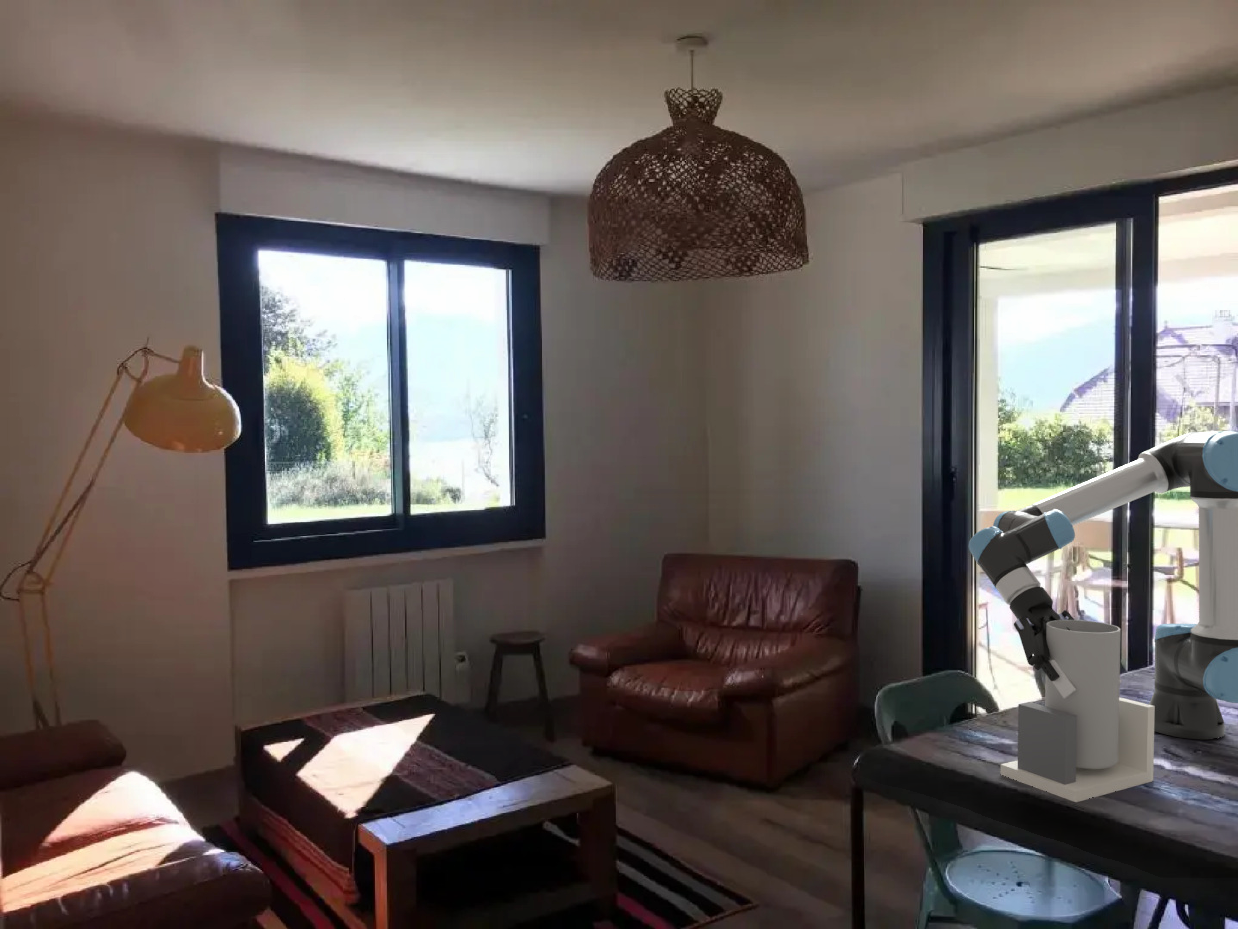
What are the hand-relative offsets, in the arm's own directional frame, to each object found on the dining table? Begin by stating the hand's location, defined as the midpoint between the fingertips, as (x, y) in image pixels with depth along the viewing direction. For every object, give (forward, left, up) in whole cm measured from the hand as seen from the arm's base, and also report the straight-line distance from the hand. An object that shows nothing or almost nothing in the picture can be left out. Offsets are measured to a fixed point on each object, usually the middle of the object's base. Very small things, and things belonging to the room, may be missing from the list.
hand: (1093, 690), depth 184 cm
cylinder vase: (+1, -2, -14) cm, 14 cm away
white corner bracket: (+2, -2, -17) cm, 17 cm away
